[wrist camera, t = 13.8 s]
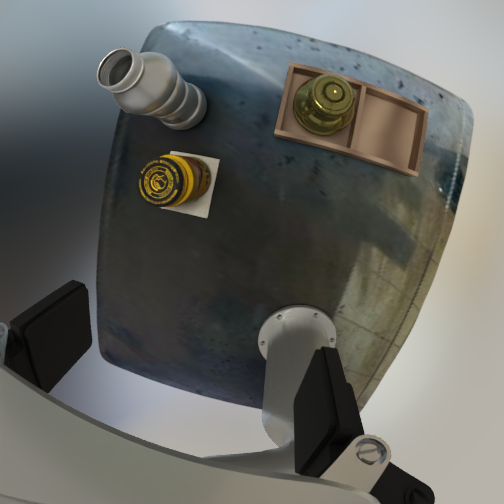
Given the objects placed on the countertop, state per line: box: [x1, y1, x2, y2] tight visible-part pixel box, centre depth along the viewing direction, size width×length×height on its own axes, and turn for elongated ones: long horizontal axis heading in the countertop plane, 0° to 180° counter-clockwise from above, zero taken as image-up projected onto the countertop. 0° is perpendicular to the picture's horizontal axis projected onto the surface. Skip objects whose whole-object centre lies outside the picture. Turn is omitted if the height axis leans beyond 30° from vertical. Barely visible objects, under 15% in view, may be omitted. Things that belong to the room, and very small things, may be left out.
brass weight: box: [293, 74, 355, 137], centre depth 28 cm, size 7×8×10 cm
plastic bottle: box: [97, 48, 207, 130], centre depth 26 cm, size 6×7×20 cm
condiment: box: [137, 151, 219, 218], centre depth 33 cm, size 7×8×12 cm
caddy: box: [274, 62, 429, 177], centre depth 32 cm, size 20×10×4 cm, turn 78°
